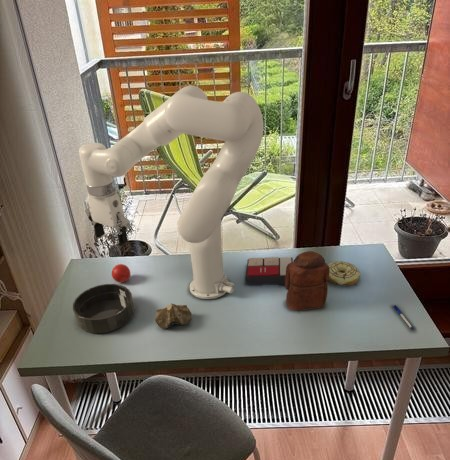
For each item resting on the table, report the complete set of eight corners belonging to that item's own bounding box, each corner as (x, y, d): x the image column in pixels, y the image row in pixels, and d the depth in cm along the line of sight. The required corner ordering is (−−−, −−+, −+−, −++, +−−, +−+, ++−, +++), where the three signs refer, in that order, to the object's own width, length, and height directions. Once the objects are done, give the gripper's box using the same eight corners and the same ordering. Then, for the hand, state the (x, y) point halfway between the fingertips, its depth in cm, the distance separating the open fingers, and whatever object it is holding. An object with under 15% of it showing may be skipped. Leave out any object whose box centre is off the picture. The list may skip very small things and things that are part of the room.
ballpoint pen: (392, 307, 126) (393, 304, 126) (395, 306, 126) (395, 303, 126) (411, 330, 118) (412, 327, 117) (414, 330, 118) (415, 327, 117)
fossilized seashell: (193, 305, 128) (161, 309, 130) (186, 297, 122) (152, 301, 124) (193, 330, 125) (160, 333, 127) (185, 323, 119) (151, 327, 121)
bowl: (146, 307, 132) (143, 293, 129) (107, 341, 120) (103, 327, 117) (105, 292, 140) (102, 278, 136) (65, 323, 128) (60, 308, 125)
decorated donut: (342, 292, 133) (343, 282, 131) (317, 276, 141) (318, 266, 138) (365, 279, 138) (367, 269, 136) (340, 265, 145) (341, 255, 143)
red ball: (135, 278, 145) (132, 263, 142) (123, 287, 141) (119, 272, 138) (122, 273, 148) (118, 259, 144) (109, 283, 144) (106, 267, 140)
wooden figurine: (320, 295, 132) (325, 245, 122) (327, 308, 127) (333, 257, 117) (282, 300, 131) (284, 249, 121) (287, 313, 126) (290, 261, 116)
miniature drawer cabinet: (247, 256, 146) (292, 255, 144) (248, 267, 148) (292, 266, 146) (245, 275, 137) (293, 273, 135) (246, 286, 139) (293, 285, 137)
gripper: (132, 188, 124) (141, 240, 134) (88, 178, 132) (100, 228, 142) (114, 198, 119) (124, 252, 129) (70, 187, 126) (83, 238, 136)
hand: (112, 239), depth 135 cm, fingers open, 9 cm apart
